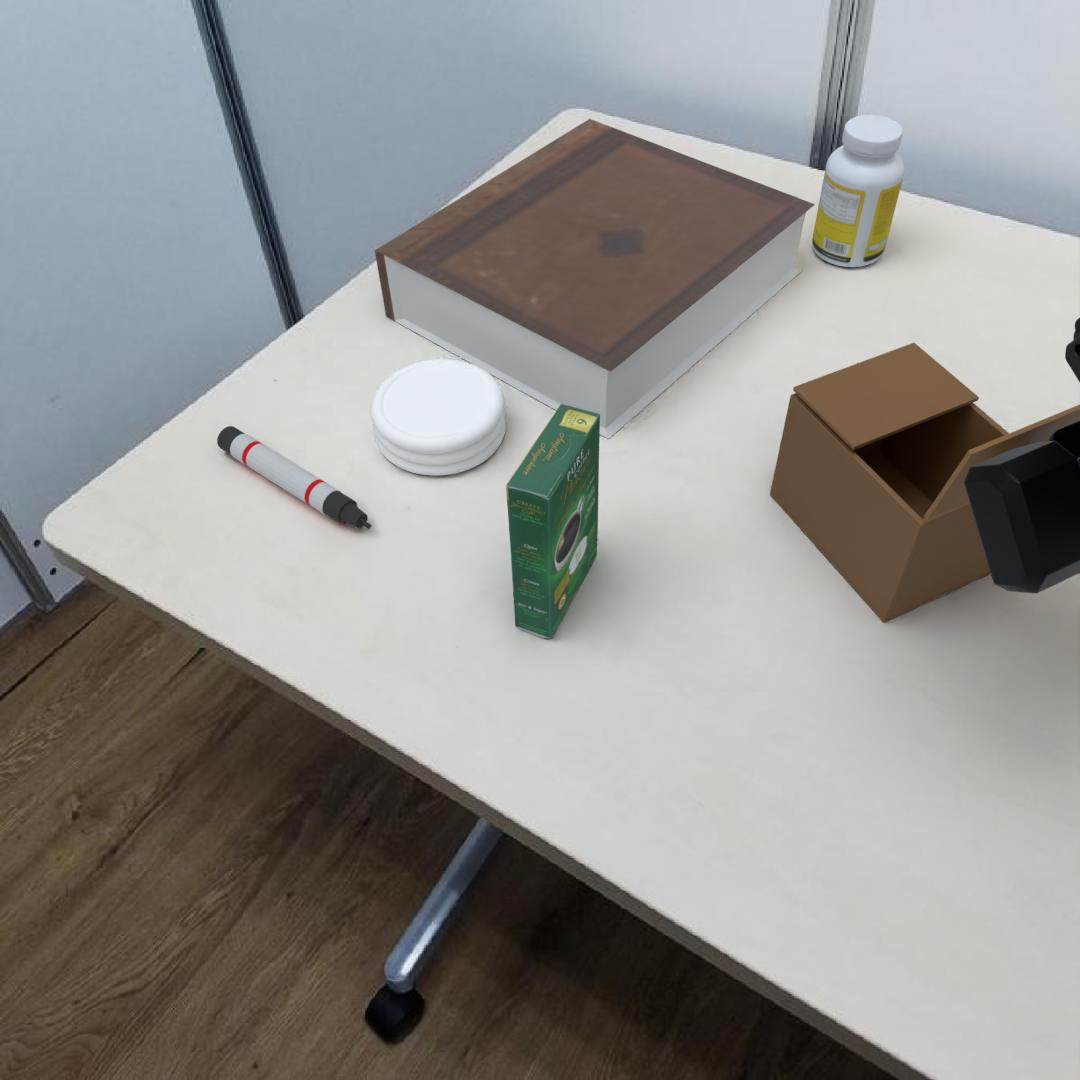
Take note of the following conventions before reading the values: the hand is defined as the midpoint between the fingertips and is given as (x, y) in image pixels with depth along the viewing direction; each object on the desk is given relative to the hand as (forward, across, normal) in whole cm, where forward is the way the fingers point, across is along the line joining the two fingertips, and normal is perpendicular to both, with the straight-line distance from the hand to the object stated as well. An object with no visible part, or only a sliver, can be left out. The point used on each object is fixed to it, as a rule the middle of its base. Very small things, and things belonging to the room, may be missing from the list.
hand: (1016, 474), depth 56 cm
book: (+38, +4, -20) cm, 43 cm away
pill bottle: (+34, -19, -16) cm, 42 cm away
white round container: (+31, +23, -13) cm, 41 cm away
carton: (+14, 0, +4) cm, 14 cm away
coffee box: (+18, +22, 0) cm, 29 cm away
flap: (0, 0, -1) cm, 1 cm away
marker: (+30, +35, -12) cm, 48 cm away
